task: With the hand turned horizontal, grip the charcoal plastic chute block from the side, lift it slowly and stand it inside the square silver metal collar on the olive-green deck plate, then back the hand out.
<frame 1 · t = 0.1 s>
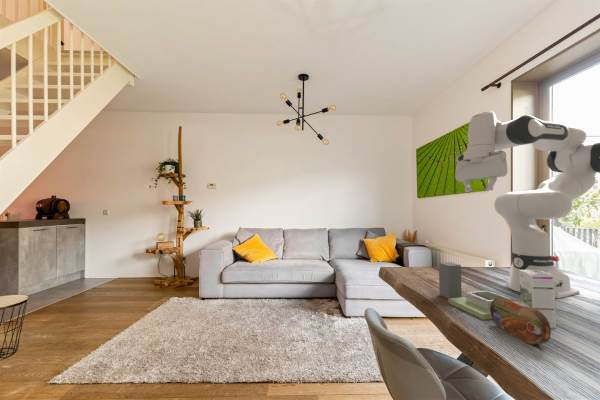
hand: (478, 191, 101), 39 cm above the table, tool pointing down, fingers open, 8 cm apart
tin: (518, 336, 68), on the table
chute block: (450, 296, 98), on the table
deck plate: (485, 308, 86), on the table
syrup box: (537, 323, 75), on the table
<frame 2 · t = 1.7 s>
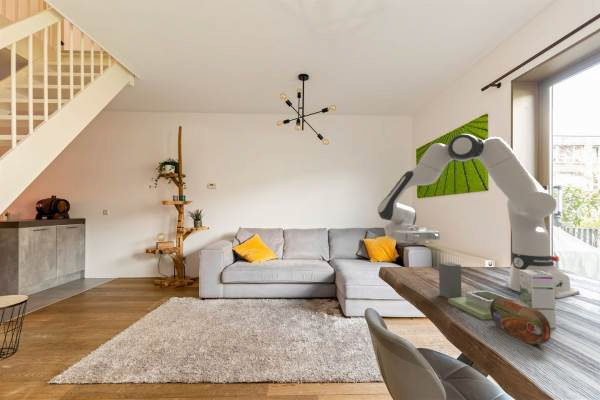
hand: (427, 237, 110), 20 cm above the table, tool horizontal, fingers open, 8 cm apart
nothing on the table moved.
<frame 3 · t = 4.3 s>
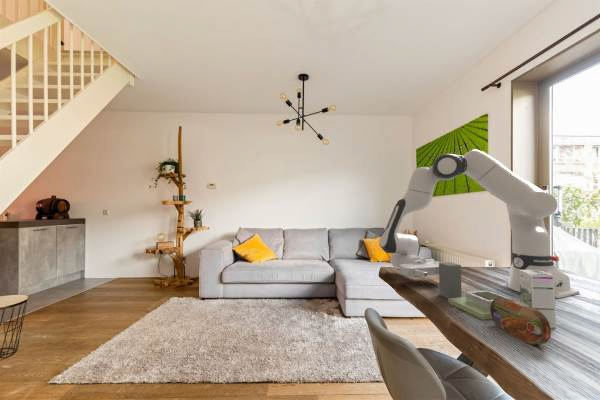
hand: (436, 273, 105), 6 cm above the table, tool horizontal, fingers open, 8 cm apart
nothing on the table moved.
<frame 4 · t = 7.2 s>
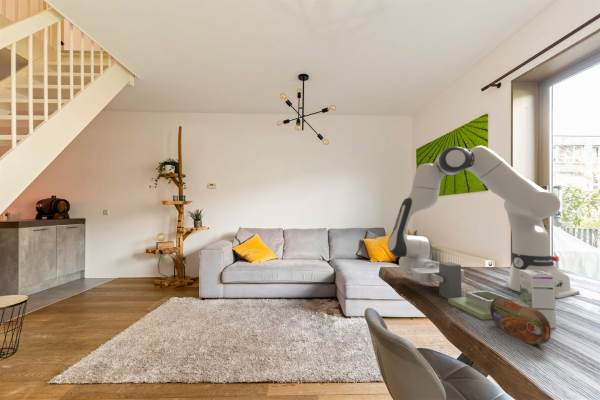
hand: (451, 279, 97), 7 cm above the table, tool horizontal, fingers closed on chute block, 5 cm apart
chute block: (450, 296, 98), on the table, touching gripper
everything else where it was.
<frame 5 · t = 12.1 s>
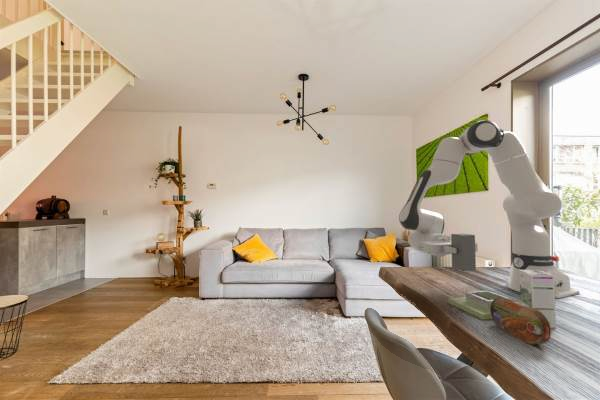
hand: (465, 250, 92), 18 cm above the table, tool horizontal, fingers closed on chute block, 5 cm apart
chute block: (463, 268, 93), point 11 cm above the table, touching gripper
everything else where it was.
when the fingers open (9 cm above the table, at t = 16.9 s): chute block drops 1 cm, resting on deck plate.
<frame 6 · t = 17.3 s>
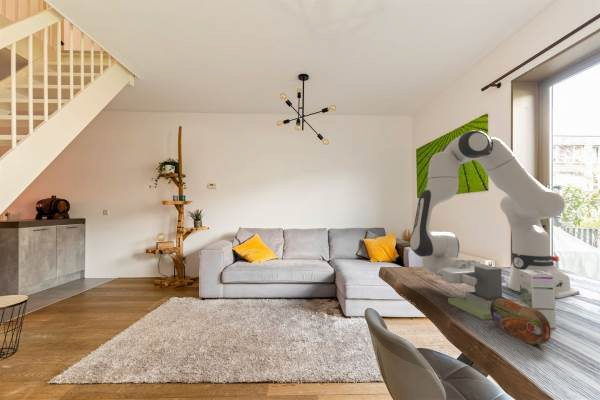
hand: (490, 280, 85), 9 cm above the table, tool horizontal, fingers open, 8 cm apart
chute block: (488, 305, 85), point 1 cm above the table, touching deck plate
everything else where it was.
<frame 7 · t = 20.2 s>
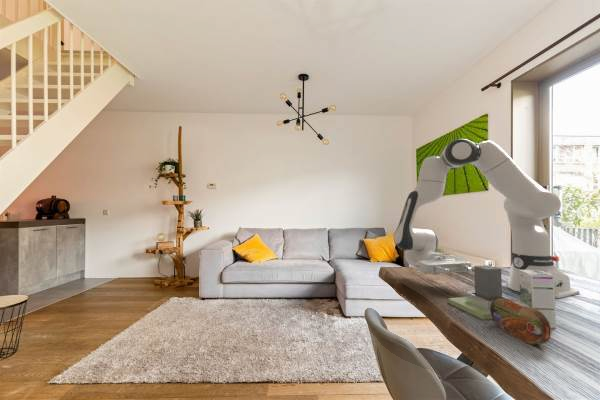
hand: (459, 271, 97), 10 cm above the table, tool horizontal, fingers open, 8 cm apart
nothing on the table moved.
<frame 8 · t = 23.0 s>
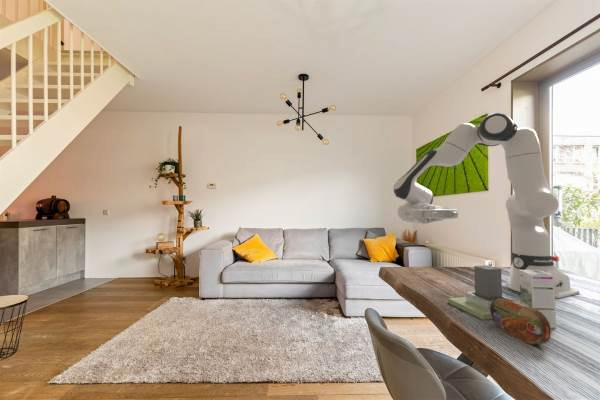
hand: (445, 214, 104), 30 cm above the table, tool horizontal, fingers open, 8 cm apart
nothing on the table moved.
at the end: chute block 0.0 cm from the target spot on the deck plate, point 1.5 cm above the deck plate's base; chute block tilted 0°; the gripper is holding nothing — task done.
